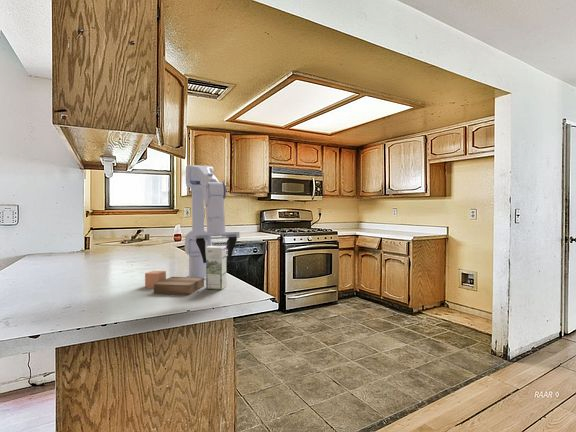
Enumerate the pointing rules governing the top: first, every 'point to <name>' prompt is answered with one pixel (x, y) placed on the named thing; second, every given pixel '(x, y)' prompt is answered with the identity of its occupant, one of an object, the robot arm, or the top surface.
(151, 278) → the cube
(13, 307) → the top surface
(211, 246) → the syrup box
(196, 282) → the walnut base
